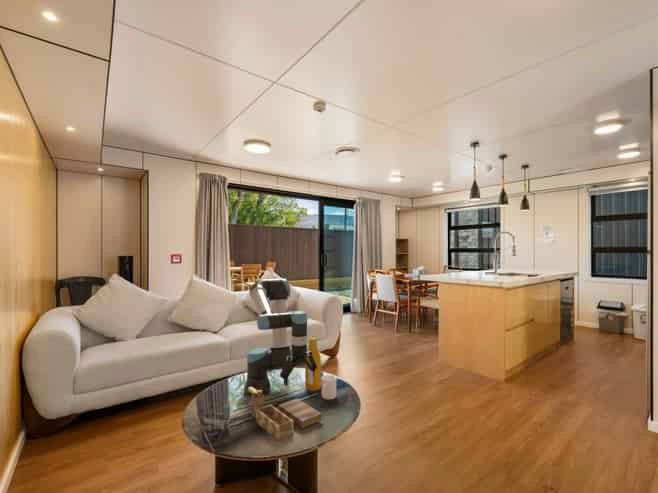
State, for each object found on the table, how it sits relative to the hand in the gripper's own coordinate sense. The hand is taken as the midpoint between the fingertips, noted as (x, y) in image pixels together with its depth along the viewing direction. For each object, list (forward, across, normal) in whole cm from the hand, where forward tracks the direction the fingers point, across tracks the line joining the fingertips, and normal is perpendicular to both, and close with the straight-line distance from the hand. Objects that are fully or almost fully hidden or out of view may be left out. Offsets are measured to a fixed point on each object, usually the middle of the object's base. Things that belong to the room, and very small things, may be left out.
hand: (299, 387), depth 155 cm
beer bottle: (+15, +26, +23) cm, 38 cm away
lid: (+13, 0, -1) cm, 13 cm away
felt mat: (+14, 0, -1) cm, 14 cm away
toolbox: (+14, -14, +3) cm, 20 cm away
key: (+5, -14, +19) cm, 24 cm away
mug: (+15, +24, +7) cm, 29 cm away
